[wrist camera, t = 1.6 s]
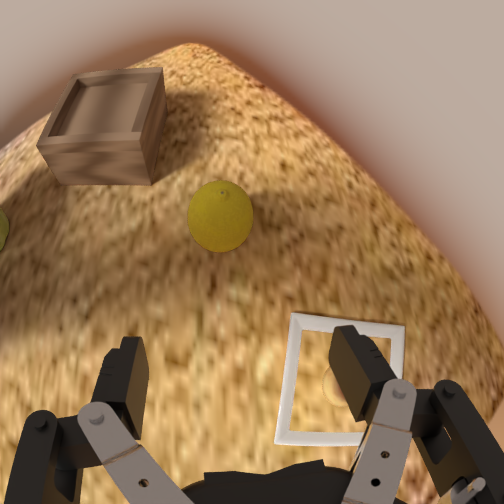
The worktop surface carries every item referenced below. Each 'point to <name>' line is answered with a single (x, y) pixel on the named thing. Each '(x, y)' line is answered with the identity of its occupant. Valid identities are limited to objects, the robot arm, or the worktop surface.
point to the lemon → (220, 216)
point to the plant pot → (3, 228)
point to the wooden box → (106, 128)
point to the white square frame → (327, 376)
